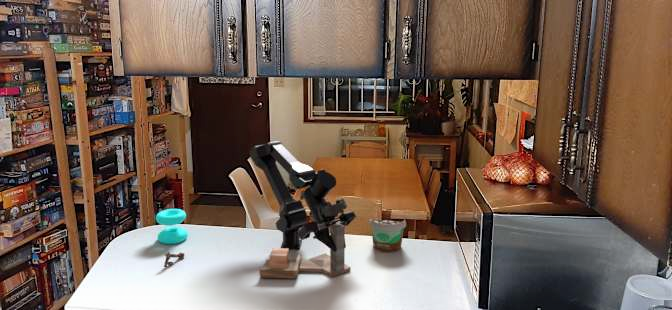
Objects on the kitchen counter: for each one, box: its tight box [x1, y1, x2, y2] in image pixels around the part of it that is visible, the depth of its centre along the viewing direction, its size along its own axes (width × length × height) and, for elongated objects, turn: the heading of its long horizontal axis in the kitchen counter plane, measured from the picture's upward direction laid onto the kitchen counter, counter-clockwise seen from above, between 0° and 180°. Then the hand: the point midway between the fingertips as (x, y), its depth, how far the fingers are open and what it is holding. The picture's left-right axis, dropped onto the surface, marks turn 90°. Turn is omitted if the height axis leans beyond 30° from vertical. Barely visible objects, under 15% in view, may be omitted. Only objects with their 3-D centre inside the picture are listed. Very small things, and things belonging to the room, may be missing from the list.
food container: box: [368, 218, 407, 253], centre depth 166 cm, size 12×6×10 cm, turn 80°
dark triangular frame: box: [163, 251, 185, 268], centre depth 158 cm, size 2×8×4 cm, turn 157°
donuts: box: [155, 208, 189, 245], centre depth 175 cm, size 10×10×10 cm
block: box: [269, 247, 290, 269], centre depth 152 cm, size 5×5×5 cm
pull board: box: [258, 223, 352, 279], centre depth 152 cm, size 21×24×15 cm
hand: (340, 249), depth 150 cm, fingers closed on pull board, 3 cm apart
